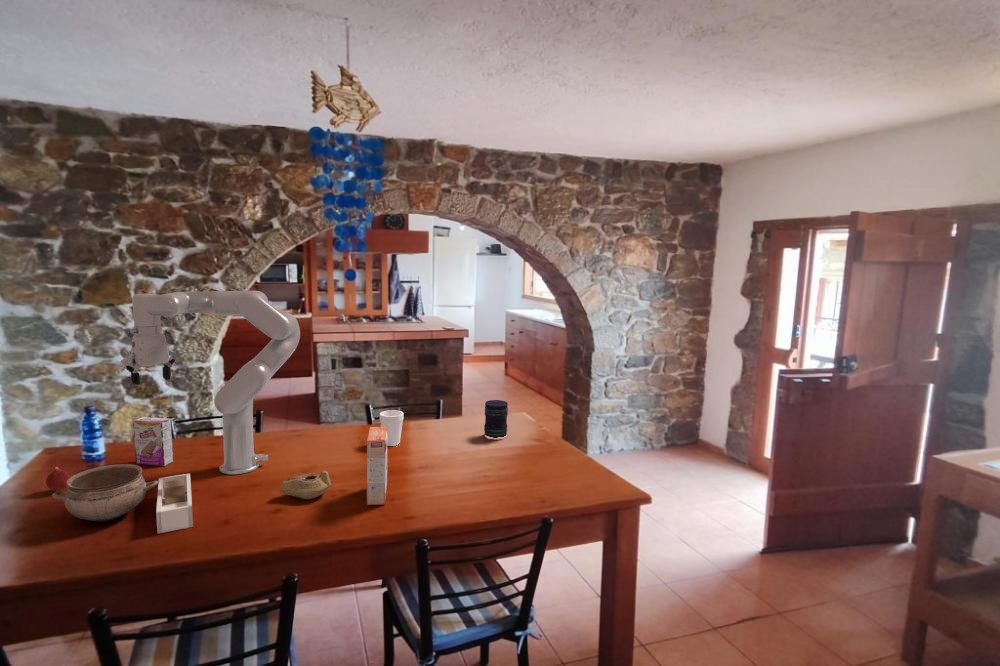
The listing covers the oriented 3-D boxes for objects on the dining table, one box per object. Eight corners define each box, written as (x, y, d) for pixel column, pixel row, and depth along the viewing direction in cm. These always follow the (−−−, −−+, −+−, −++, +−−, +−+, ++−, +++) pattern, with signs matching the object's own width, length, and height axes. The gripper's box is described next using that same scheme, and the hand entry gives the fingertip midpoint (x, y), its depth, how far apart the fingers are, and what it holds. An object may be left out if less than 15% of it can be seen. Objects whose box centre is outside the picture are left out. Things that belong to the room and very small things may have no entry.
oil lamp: (279, 493, 174) (278, 469, 173) (327, 486, 181) (327, 462, 180) (282, 507, 164) (281, 482, 163) (333, 499, 171) (333, 474, 170)
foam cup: (400, 448, 217) (400, 417, 215) (377, 448, 217) (377, 416, 215) (405, 440, 226) (405, 410, 225) (382, 440, 226) (382, 409, 225)
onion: (75, 489, 173) (73, 465, 172) (55, 496, 168) (53, 471, 166) (62, 486, 175) (60, 462, 174) (42, 493, 169) (40, 469, 168)
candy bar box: (134, 465, 194) (131, 420, 192) (145, 459, 199) (142, 416, 196) (164, 467, 193) (161, 422, 190) (174, 461, 198) (171, 417, 195)
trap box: (191, 491, 174) (190, 473, 173) (193, 526, 152) (192, 506, 151) (160, 496, 170) (158, 478, 169) (157, 533, 147) (156, 512, 147)
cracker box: (386, 505, 168) (386, 439, 165) (366, 506, 167) (365, 440, 164) (388, 486, 181) (388, 425, 179) (369, 487, 180) (369, 426, 178)
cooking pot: (41, 539, 143) (37, 495, 141) (67, 508, 160) (63, 468, 159) (152, 524, 152) (150, 482, 151) (165, 496, 170) (163, 459, 168)
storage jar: (481, 439, 231) (482, 405, 229) (486, 432, 240) (487, 399, 238) (505, 441, 229) (506, 406, 227) (508, 434, 239) (509, 400, 237)
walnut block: (184, 494, 164) (183, 479, 164) (185, 501, 160) (184, 485, 159) (165, 498, 162) (164, 482, 161) (165, 504, 158) (164, 488, 157)
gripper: (125, 335, 172) (129, 388, 174) (180, 329, 187) (184, 378, 189) (113, 332, 176) (117, 384, 178) (168, 327, 190) (171, 375, 193)
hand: (151, 381), depth 183 cm, fingers open, 9 cm apart
